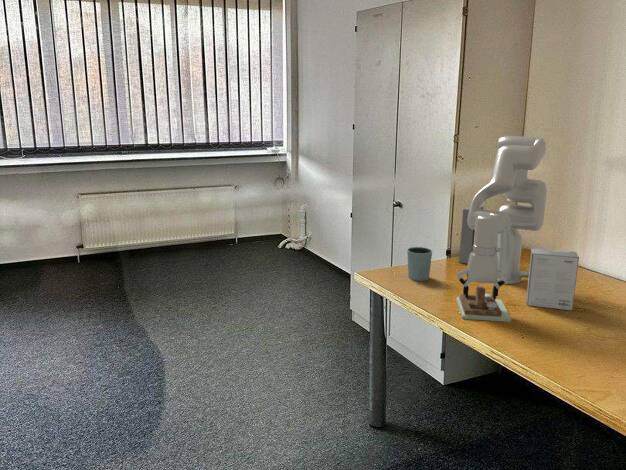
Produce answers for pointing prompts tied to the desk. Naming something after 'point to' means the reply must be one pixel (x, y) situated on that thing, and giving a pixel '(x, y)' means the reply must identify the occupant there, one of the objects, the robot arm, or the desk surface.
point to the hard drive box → (552, 279)
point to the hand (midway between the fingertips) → (480, 297)
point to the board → (492, 318)
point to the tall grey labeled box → (466, 238)
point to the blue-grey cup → (419, 263)
